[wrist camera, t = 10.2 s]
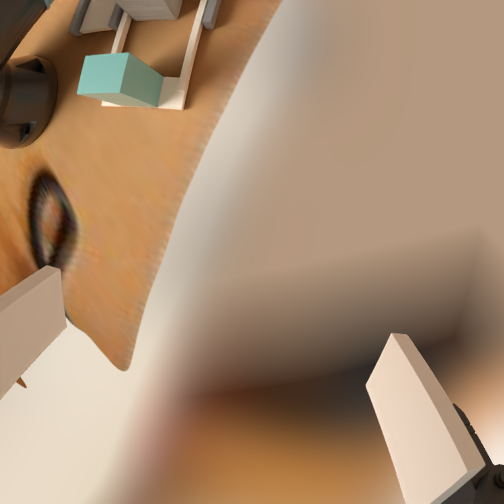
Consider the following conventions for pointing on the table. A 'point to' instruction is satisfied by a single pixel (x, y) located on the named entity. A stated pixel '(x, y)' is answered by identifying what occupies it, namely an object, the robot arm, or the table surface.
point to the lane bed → (117, 12)
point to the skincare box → (151, 9)
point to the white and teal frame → (137, 74)
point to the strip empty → (97, 16)
